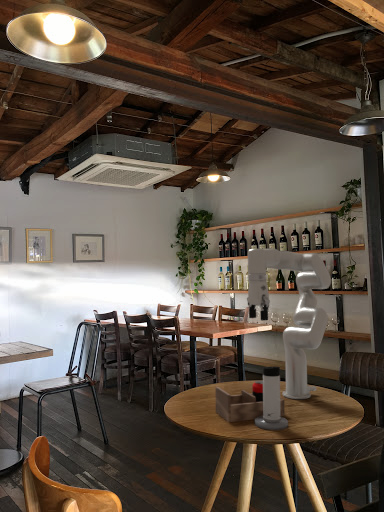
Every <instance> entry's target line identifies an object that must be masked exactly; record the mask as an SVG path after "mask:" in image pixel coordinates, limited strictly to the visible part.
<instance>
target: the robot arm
mask: <svg viewBox="0 0 384 512" xmlns="http://www.w3.org/2000/svg"><path fill="white" fill-rule="evenodd" d="M267 269H274V270H282V271H283V270H285V271H291V272H292V271H293V272H298V273H297V275H296V277H295V283H296V287H297V290H298V293H299V298H298V302H297V305H296V307H295V310H294V313H293V315H292V322H293V324H294V325H291V326H287V327H286V328H285V329H284V330H283V332H282V341H283V344H284V345H283V346H284V353H285V355H284V356H285V357H284V358H285V390H283V391H282V396H283V397H284V398H287V399H292V400H306V399H309V398H311V395H312V394H311V393H310V392H311V391H312V392H313V391H314V392H315V391H317V387H316V386H311V385H308V373H307V372H308V369H307V368H308V367H307V366H308V365H307V363H308V362H307V361H308V360H307V355H306V352H305V350H306V349H307V350H316V349H318V348H319V347H320V346H321V343H322V340H323V338H324V334H325V331H326V329H327V325H328V319H329V318H328V313H327V311H326V310H325V309H324V308H322V307H317V306H318V305H317V304H318V299H317V297H316V294H315V292H313V290H325V289H328V288H329V287H330V286H331V284H332V278H331V274H330V272H329V270H328V269H327V267H326V264H325V263H324V260H323V259H322V258H321V257H320V255H318V253H316V252H312V253H311V252H310V253H309V252H308V253H300V252H293V251H288V250H278V249H276V248H252V249H249V250H248V251H247V275H248V277H247V278H248V279H247V280H248V289H247V290H248V291H247V294H248V295H247V298H246V301H247V309H248V318H249V319H256V318H257V308H256V307H257V306H259V308H260V312H259V313H260V321H268V320H269V308H270V302H271V300H270V294H269V287H268V282H267ZM304 349H305V350H304Z"/></svg>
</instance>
